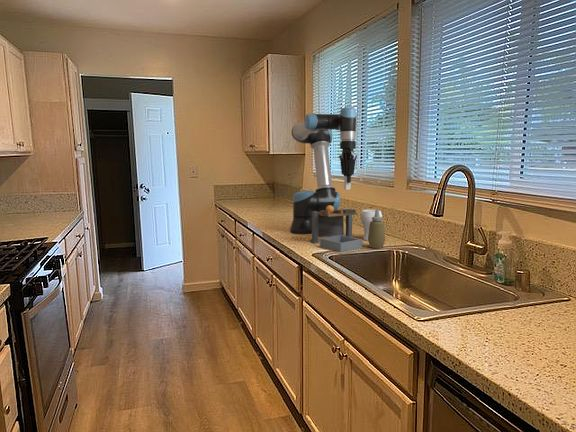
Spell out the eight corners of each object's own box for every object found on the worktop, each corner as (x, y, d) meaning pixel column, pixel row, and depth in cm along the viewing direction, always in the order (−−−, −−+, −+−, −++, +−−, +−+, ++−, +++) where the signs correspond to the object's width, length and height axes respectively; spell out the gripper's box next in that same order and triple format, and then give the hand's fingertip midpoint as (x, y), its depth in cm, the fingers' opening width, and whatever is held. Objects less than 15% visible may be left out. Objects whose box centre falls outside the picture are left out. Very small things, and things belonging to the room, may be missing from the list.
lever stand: (309, 241, 213) (309, 211, 211) (349, 237, 222) (350, 208, 219) (313, 243, 208) (313, 212, 206) (354, 239, 217) (355, 209, 215)
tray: (320, 246, 200) (320, 238, 199) (341, 243, 208) (341, 235, 208) (340, 252, 189) (340, 243, 188) (362, 247, 197) (362, 239, 197)
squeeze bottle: (385, 246, 201) (386, 208, 198) (384, 249, 193) (385, 211, 190) (368, 245, 203) (369, 208, 201) (366, 248, 196) (367, 210, 193)
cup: (381, 241, 210) (382, 212, 208) (360, 241, 212) (360, 211, 210) (381, 237, 220) (382, 209, 218) (360, 237, 223) (361, 209, 220)
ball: (324, 214, 207) (323, 206, 207) (330, 214, 209) (329, 206, 210) (330, 212, 203) (328, 204, 204) (336, 212, 206) (334, 204, 207)
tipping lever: (312, 236, 217) (312, 209, 216) (339, 234, 223) (339, 208, 222) (329, 240, 201) (328, 211, 200) (357, 237, 207) (357, 209, 206)
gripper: (334, 141, 207) (334, 188, 210) (348, 140, 195) (347, 190, 198) (347, 141, 210) (347, 188, 213) (361, 140, 198) (361, 189, 201)
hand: (347, 189), depth 206 cm, fingers closed
